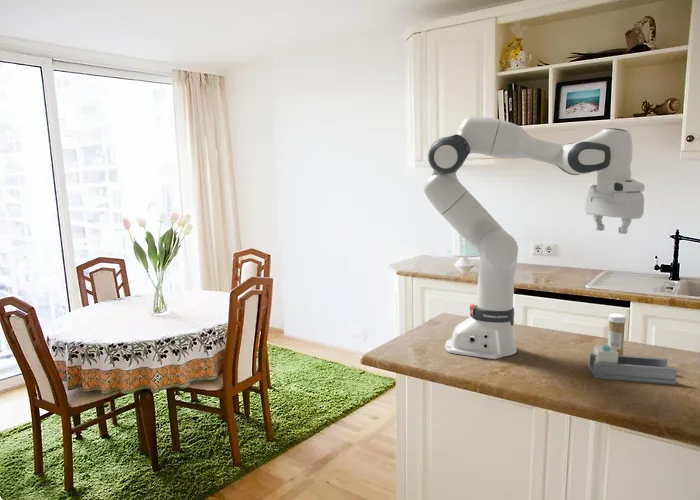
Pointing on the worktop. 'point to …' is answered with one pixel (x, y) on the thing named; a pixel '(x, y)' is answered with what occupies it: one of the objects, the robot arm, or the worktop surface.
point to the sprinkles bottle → (616, 332)
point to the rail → (629, 367)
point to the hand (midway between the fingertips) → (611, 232)
